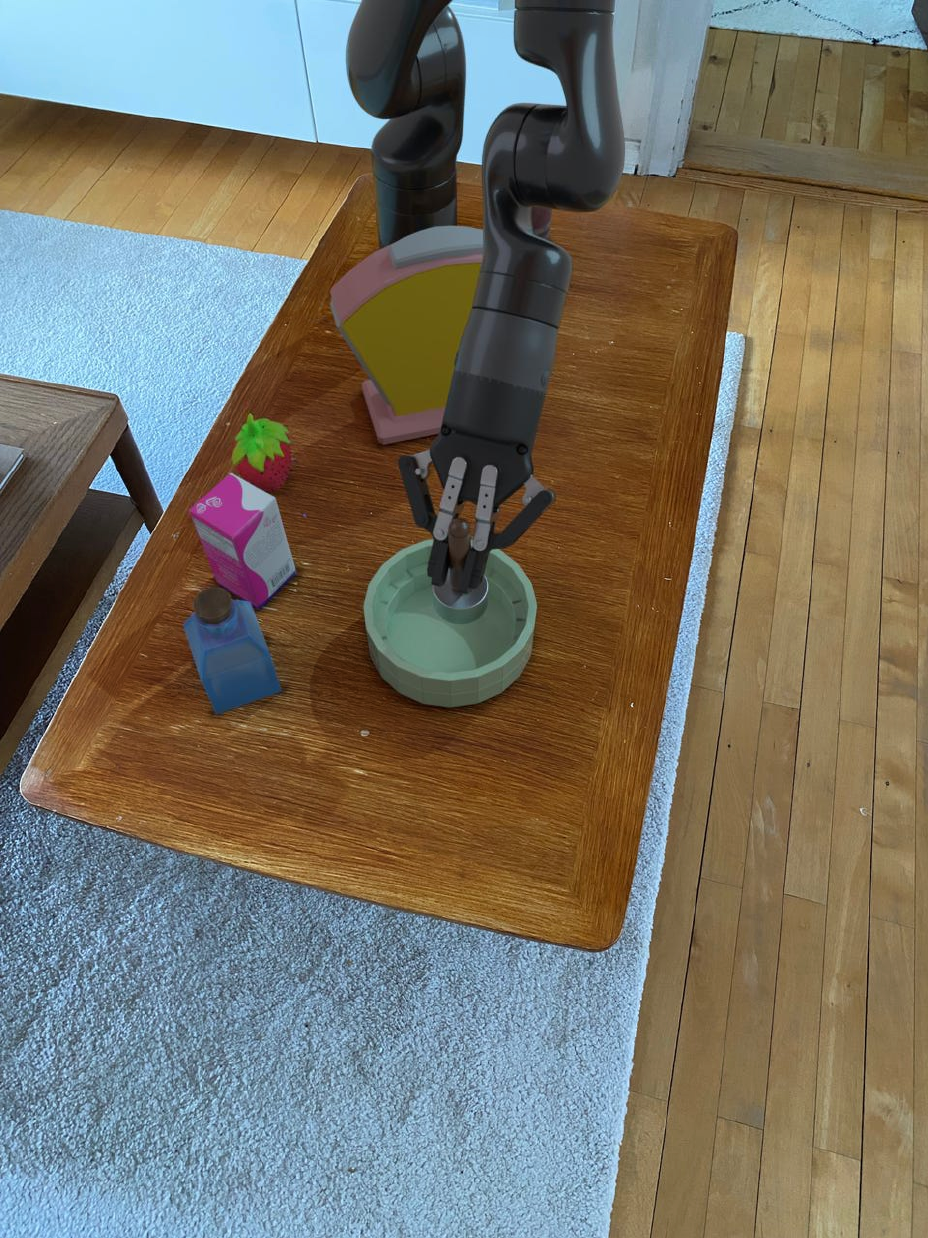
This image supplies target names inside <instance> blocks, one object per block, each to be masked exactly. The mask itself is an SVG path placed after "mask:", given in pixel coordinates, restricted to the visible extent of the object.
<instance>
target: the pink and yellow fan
mask: <svg viewBox="0 0 928 1238" xmlns="http://www.w3.org/2000/svg"><path fill="white" fill-rule="evenodd" d="M482 257H483V229H481V228H476V227H472V226H464V225H457V226H437V227H432V228H429V229H425V230H421V231H419V232H416V233H414V234H411V235H409V236H406V237H404V238H402V239H401V240H399V241H397V242H395V243H393V244H391V245H389V246H387V247H384V248H382V249H380V250H379V249H377V250H375V251H374V252H372V253H370V254H369V255H368V256H367V257H365V258H364V259H363V260H361V261H360V262H359V263H357V264H356V265H355V266H353V267H352V268H351V269H349V270H348V271H347V272H346V273H345V274H344V275H343V276H342V277H341V278H340V279H339V280H338V281H337V282H336V283H335V284H334V285H333V286H331V288H330V290H329V293H330V297H331V299H330V302H329V306H330V309H331V312H332V316H333V319H334V322H335V326H336V328H337V329H338V331H339V333H340V334H341V336H342V338H343V339H344V341H345V342H346V344H347V345H348V347H349V349H350V351H352V353H353V354H354V357H355V358H356V359H357V361H358V363H359V364H360V365H361V367H362V369H363V370H364V371H365V373H366V375H367V376H368V377H369V379H367V380H365V381H363V382H362V383H361V388H362V390H361V391H362V393H363V396H364V400H365V403H366V407H367V409H368V412H369V415H370V418H371V422H372V425H373V428H374V431H375V435H376V437H377V441H378V443H379V444H381V445H389V444H394V443H399V442H404V441H409V440H414V439H419V438H424V437H428V436H434V435H439V433H440V430H441V425H442V420H443V416H444V411H445V407H446V403H447V398H448V394H449V389H450V385H451V381H452V376H453V372H454V367H455V365H454V361H455V357H456V353H457V352H458V349H459V345H460V341H461V337H462V334H463V331H464V328H465V326H466V323H467V320H468V317H469V314H470V310H471V309H472V303H473V299H474V294H475V290H476V285H477V281H478V276H479V271H480V267H481V263H482Z"/></svg>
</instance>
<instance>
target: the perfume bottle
mask: <svg viewBox="0 0 928 1238" xmlns="http://www.w3.org/2000/svg"><path fill="white" fill-rule="evenodd" d="M192 608H193V611H194V613H192V614H191V615H190V616H189V617H187V619H186V620H185V622H184V623H183V624H182V627H183V629H184V632H185V636H186V638H187V642H188V645H189V648H190V651H191V654H192V657H193V660H194V663H195V666H196V669H197V672H198V676H199V679H200V682H201V684H202V686H203V689H204V690H205V692H206V695H207V697H208V699H209V700H208V701H209V702H210V704H211V706H212V709H213V711H214V713H215V715H216V716H217V715H220V714H222V713H225V712H228V711H230V710H233V709H237V708H239V707H242V706H245V705H247V704H250V703H253V702H256V701H258V700H261V699H264V698H266V697H270V696H272V695H275V694H278V693H281V692H282V688H281V684H280V681H279V678H278V675H277V671H276V668H275V664H274V662H273V659H272V655H271V653H270V649H269V648H268V645H267V641H266V639H265V637H264V634H263V630H262V629H261V626H260V623H259V620H258V617H257V616H256V613H255V610H254V607H253V606H252V605H251V602H247V601H243V600H242V599H234V600H233V599H232V596H231V594H230V592H229V591H228V590H227V589H225V588H223V587H217V586H212V587H207V588H205V589H203V590H201V591H199V592H198V593H197V594H196V596H195V597H194V599H193V602H192Z"/></svg>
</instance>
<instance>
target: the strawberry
mask: <svg viewBox="0 0 928 1238" xmlns="http://www.w3.org/2000/svg"><path fill="white" fill-rule="evenodd" d="M289 435H290V431H289V430H288V429H287V428H286V426H285V425H283V424H282V422H281V423H280V422H279V421H277V420H276V421H275V420H270V419H268V418H265V417H262V418H258V419H256V420H254V415H253V414H252V413H249V414H248V415H247V418H246V422H245V423H243V425H242V426H241V429H240V431H239V432H238V433H237V435H236V436H235V437H234V444H233V446H232V449H231V451H230V453H231V460H232V464H233V466H234V469H235V470H236V472H238V474H239V475H240V476H239V477H242V479H243V480H245V481H246V482H248V483H250V484H251V485H253V486H255V487H257V488H258V489H260V490H262V491H265V492H266V491H267V492H270V491H271V492H274V491H276V490H278V491H280V490H279V489H280V488H282V487H283V486H284V484H285V482H286V481H287V477H288V476H290V469H292V466H291V464H292V451H291V449H292V448H291V446H292V445H291V441H290V436H289Z"/></svg>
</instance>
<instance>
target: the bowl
mask: <svg viewBox="0 0 928 1238" xmlns="http://www.w3.org/2000/svg"><path fill="white" fill-rule="evenodd" d="M472 542H473V539H471V548H472V547H473V545H472ZM432 545H433V538H432V539H424V540H422V541H419V542H417V543H415V544H412V545H410V546H407V547H405V548H403V549H401V550H399V551H397V552H396V553H395V554H394V555H393V556H392V557H389V558H388V559H387V560H386V561H385V562H384V563H382V564H381V565H380V566H379V569H378V570H377V571H376V572H375V574H374V575H373V577H372V578H371V580H370V581H369V583H368V586H367V589H366V593H365V596H364V597H365V598H364V601H363V605H362V606H363V607H362V609H363V615H364V623H365V631H366V637H367V644H368V651H369V656H370V659H371V661H372V662H373V665H374V667H375V669H376V670H377V672H378V673H379V675H380V677H381V678H382V679H383V680H384V681H385V682H386V683H387V684H389V686H391V688H393V689H394V690H395V691H396V692H397V693H399V694H401V695H402V696H405V697H407V698H410V699H412V700H414V701H416V702H418V703H420V704H423V705H427V706H435V707H436V706H437V707H443V708H457V707H463V706H470V705H477V704H480V703H483V702H484V701H487V700H489V699H491V698H493V697H496V696H498V695H500V694H502V693H503V692H504V691H505V690H506V689H507V688H509V687H510V686H511V685H512V684H513V683H514V682H515V681H517V680H518V678H519V677H521V675H522V673H523V671H524V670H525V667H526V666H527V664H528V662H529V660H530V658H531V657H532V651H533V645H534V644H533V643H534V635H535V627H536V620H537V619H536V617H537V610H538V603H537V599H536V595H535V591H534V588H533V584H532V582H531V581H530V579H529V578H528V576H527V575H526V573H525V572H524V570H523V569H522V567H521V566H520V564H519V563H518V562H516V561H515V560H514V559H513V558H511V557H510V556H509V555H508V554H506V553H505V552H503V551H502V549H493V550H491V551H490V553H489V556H488V561H487V565H486V569H485V573H484V575H485V577H486V579H487V581H488V606H487V609H486V611H485V612H484V614H483V615H482V616H481V617H480V618H479V619H477V620H476V621H473V622H471V623H467V624H454V623H450V622H447V621H446V620H444V619H442V618H441V617H440V616H439V615H438V614H437V612H436V611H435V608H434V604H433V588H432V587H433V585H432V584H431V582H432V577H429V576H428V574H427V567H428V563H429V559H430V554H431V549H432Z"/></svg>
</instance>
